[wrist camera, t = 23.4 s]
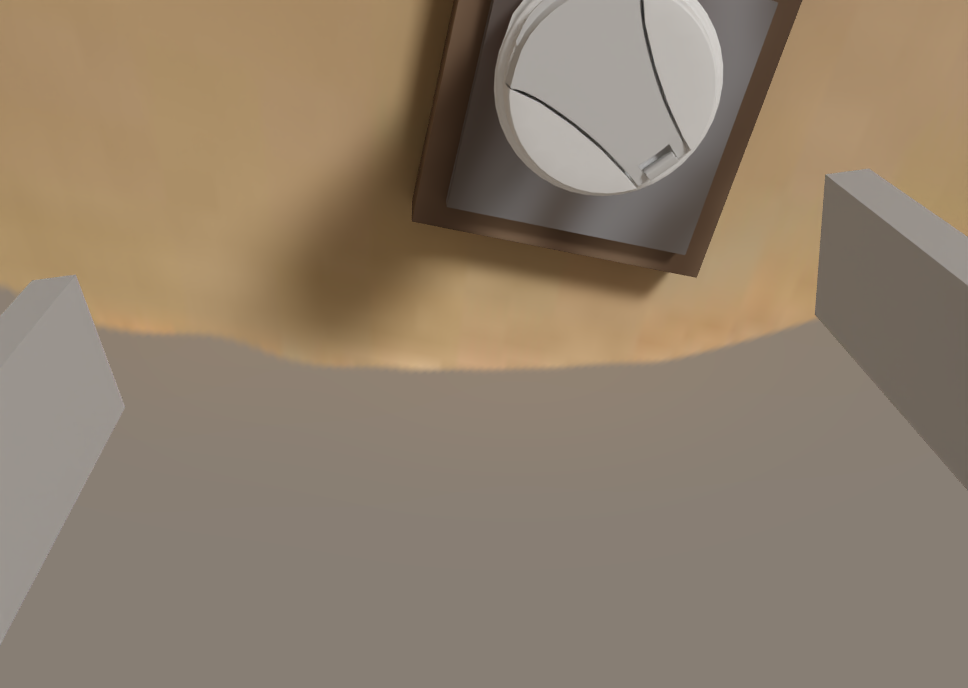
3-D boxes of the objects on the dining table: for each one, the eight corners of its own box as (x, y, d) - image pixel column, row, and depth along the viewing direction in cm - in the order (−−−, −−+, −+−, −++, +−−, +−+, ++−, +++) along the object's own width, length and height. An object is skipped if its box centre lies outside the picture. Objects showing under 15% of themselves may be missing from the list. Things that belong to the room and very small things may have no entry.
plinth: (412, 201, 49) (412, 228, 46) (478, -116, 42) (484, -113, 38) (682, 256, 52) (701, 285, 48) (788, -33, 45) (820, -24, 41)
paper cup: (693, 44, 41) (775, 118, 29) (558, 142, 44) (580, 249, 31) (599, -106, 39) (646, -94, 26) (460, 7, 41) (443, 67, 28)
